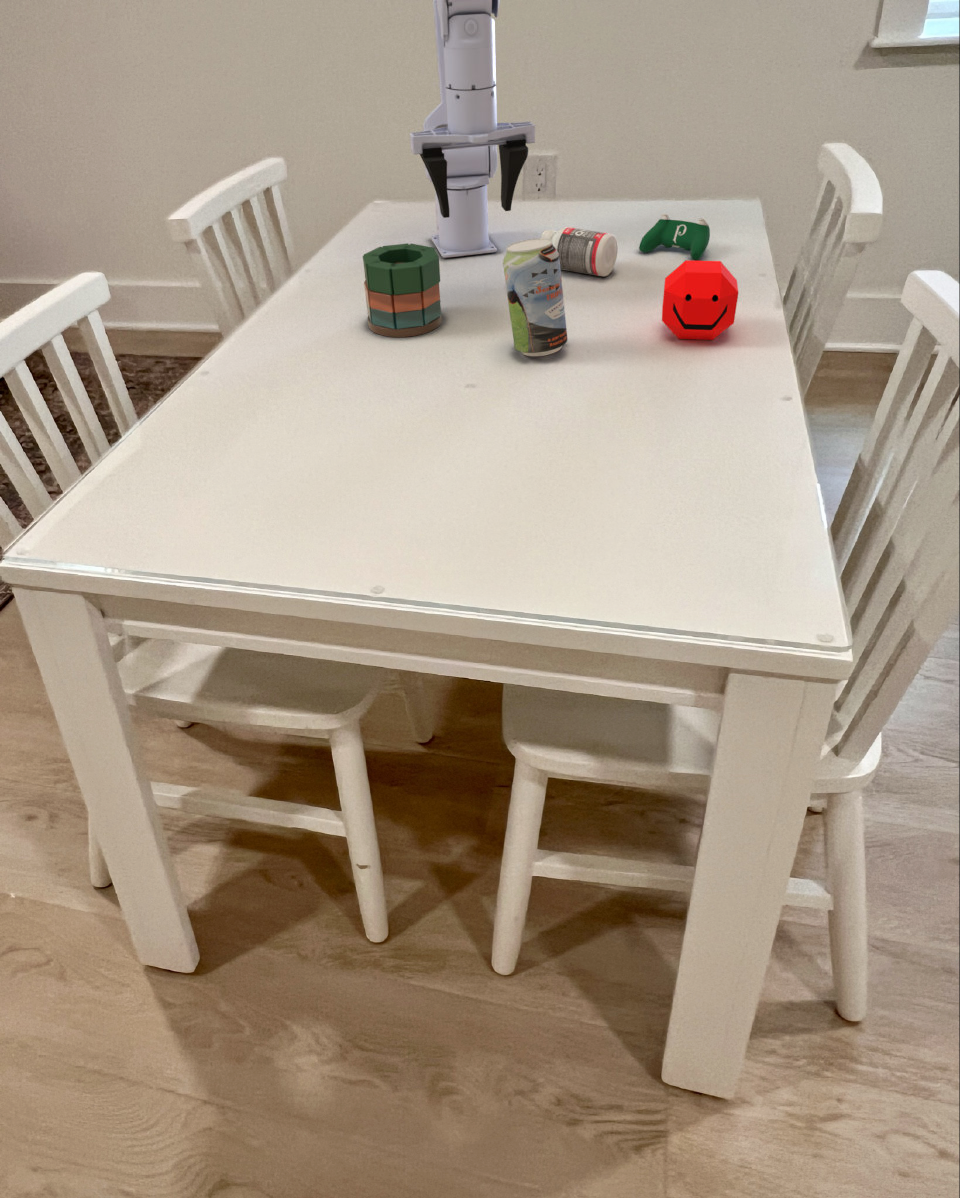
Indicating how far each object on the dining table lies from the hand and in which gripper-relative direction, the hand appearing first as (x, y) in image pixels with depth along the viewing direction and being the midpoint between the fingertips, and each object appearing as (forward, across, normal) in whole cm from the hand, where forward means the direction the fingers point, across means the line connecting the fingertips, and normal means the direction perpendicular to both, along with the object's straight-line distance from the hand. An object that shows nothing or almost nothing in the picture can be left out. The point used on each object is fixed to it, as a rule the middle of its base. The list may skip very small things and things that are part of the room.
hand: (475, 212), depth 109 cm
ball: (+10, +21, -20) cm, 31 cm away
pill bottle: (+8, +18, +1) cm, 20 cm away
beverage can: (+10, +2, -19) cm, 22 cm away
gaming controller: (+11, +30, +7) cm, 33 cm away
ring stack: (+10, -11, -6) cm, 16 cm away
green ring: (+5, -10, -6) cm, 13 cm away
